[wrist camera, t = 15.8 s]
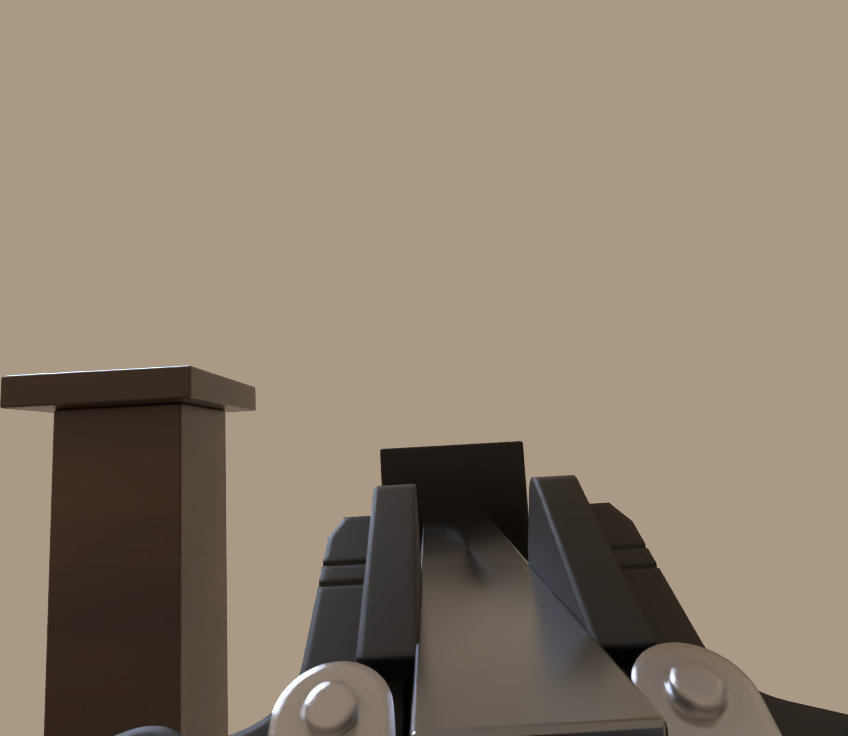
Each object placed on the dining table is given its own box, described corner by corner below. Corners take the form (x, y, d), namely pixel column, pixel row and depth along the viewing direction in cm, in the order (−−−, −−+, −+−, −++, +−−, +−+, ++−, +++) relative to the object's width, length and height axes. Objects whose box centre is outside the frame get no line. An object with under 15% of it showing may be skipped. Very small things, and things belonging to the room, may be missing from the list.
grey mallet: (391, 552, 20) (386, 449, 21) (517, 545, 20) (509, 442, 21) (254, 950, 4) (248, 453, 5) (856, 916, 4) (785, 422, 5)
